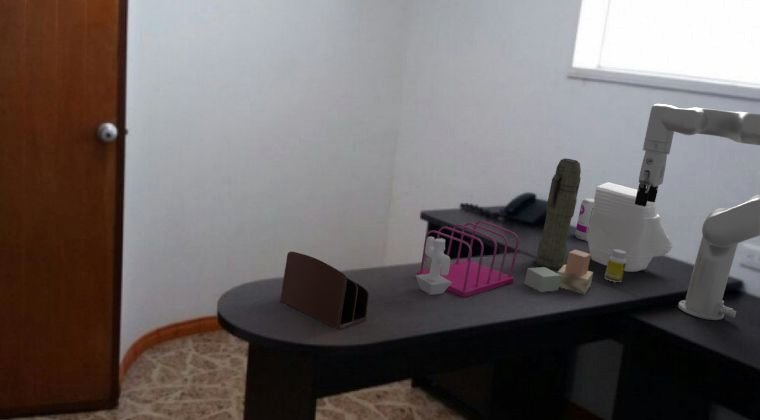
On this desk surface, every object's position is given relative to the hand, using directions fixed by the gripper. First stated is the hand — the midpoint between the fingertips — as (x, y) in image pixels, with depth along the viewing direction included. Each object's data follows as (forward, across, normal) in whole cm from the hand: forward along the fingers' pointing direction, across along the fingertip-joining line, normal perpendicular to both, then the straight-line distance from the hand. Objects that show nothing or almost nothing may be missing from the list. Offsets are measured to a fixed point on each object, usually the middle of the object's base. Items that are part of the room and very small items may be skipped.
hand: (644, 203), depth 225 cm
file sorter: (+27, -38, +36) cm, 59 cm away
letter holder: (+27, -91, +47) cm, 106 cm away
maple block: (+28, -12, +13) cm, 33 cm away
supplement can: (+27, +48, +31) cm, 63 cm away
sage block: (+28, -22, +19) cm, 40 cm away
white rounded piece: (+28, +25, +11) cm, 39 cm away
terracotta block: (+23, -12, +12) cm, 29 cm away
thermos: (+27, +2, +26) cm, 38 cm away
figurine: (+27, -55, +38) cm, 72 cm away
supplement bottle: (+28, +6, +6) cm, 29 cm away
